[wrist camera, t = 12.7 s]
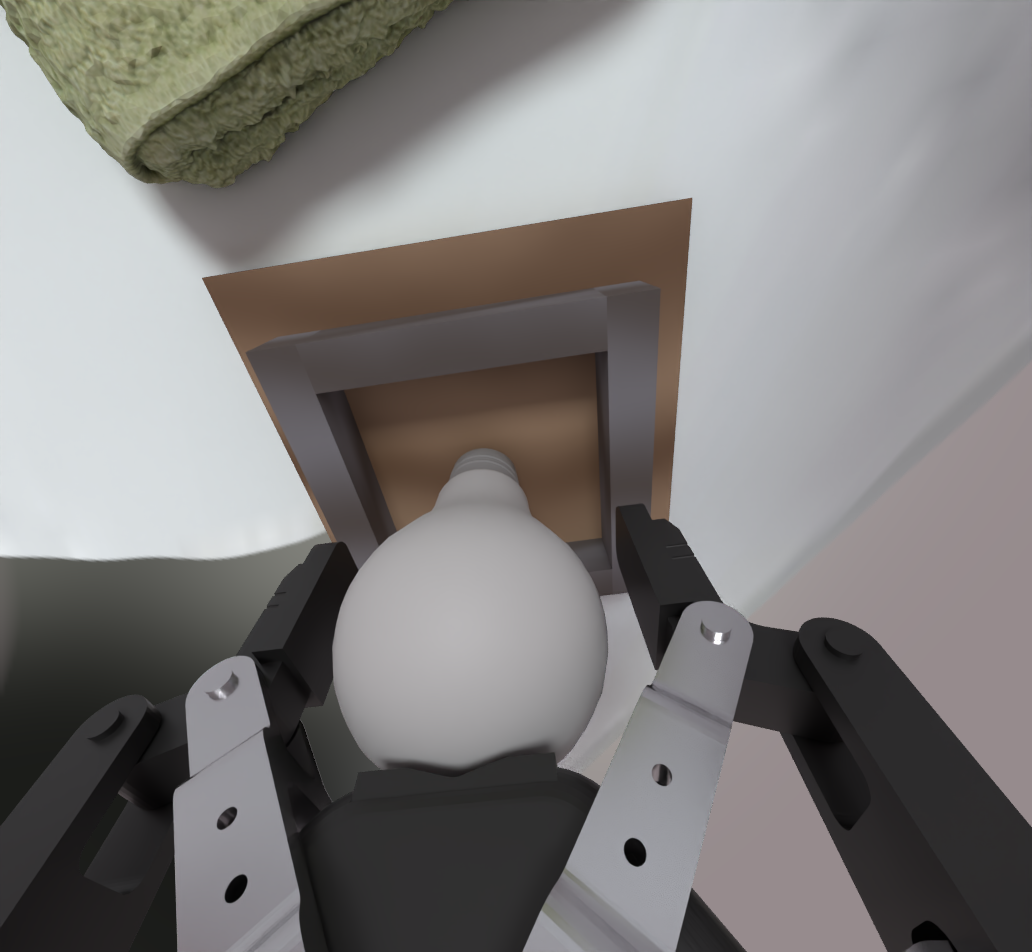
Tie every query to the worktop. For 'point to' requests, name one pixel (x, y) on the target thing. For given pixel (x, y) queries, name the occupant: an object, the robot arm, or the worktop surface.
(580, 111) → the worktop surface
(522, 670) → the lightbulb
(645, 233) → the socket stand
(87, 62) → the washcloth
